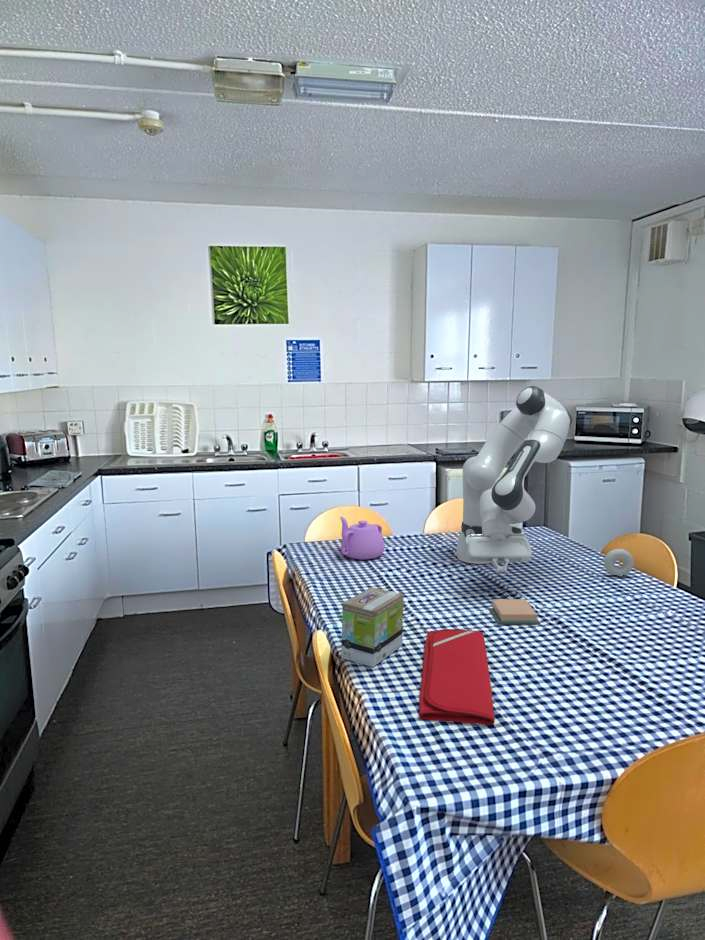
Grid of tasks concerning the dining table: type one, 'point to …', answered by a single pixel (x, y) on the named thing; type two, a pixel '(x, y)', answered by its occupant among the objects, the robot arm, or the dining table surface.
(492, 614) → the mat
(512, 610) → the tile
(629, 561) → the donut
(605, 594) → the dining table surface
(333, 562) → the dining table surface
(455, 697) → the dish drying mat
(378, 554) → the teapot
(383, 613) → the tea box
